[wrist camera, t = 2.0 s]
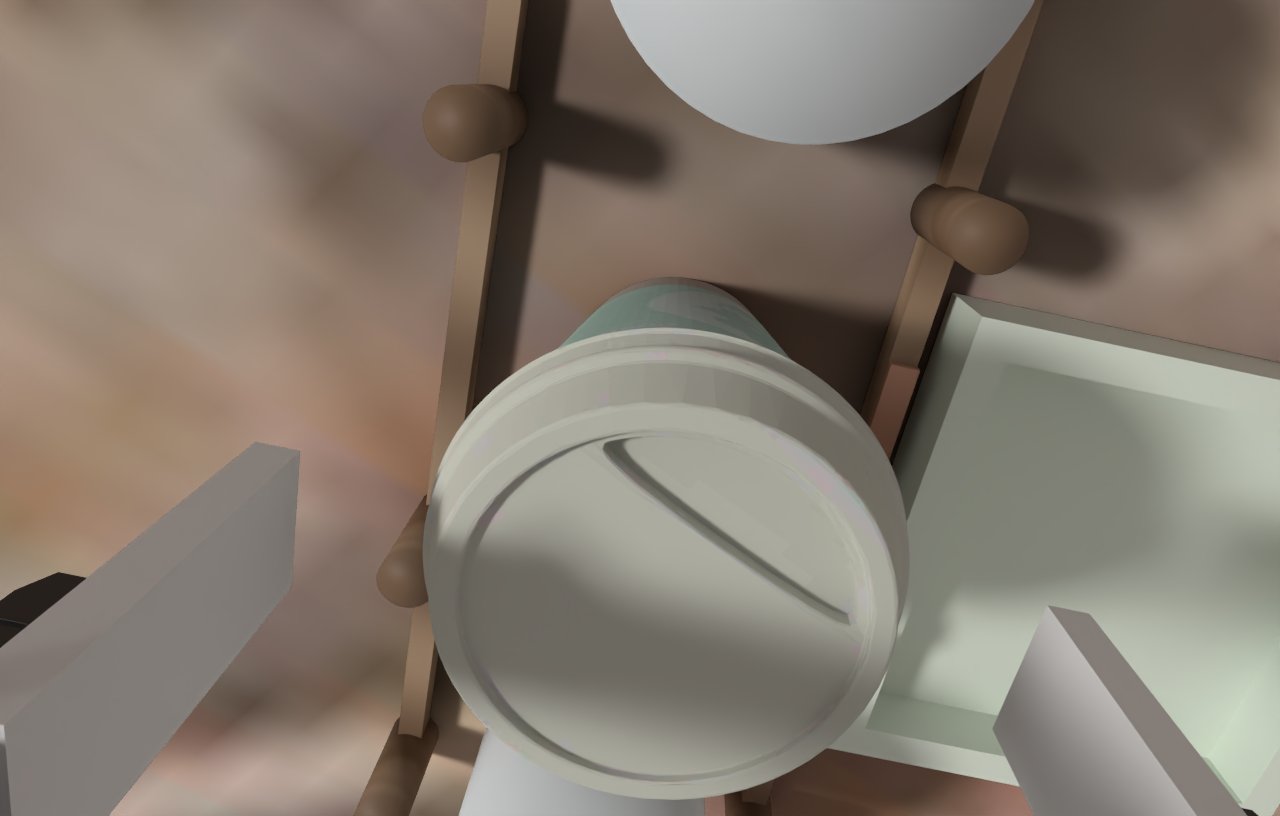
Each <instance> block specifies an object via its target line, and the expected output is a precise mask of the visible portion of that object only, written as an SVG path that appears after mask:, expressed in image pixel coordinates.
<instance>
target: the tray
mask: <svg viewBox="0 0 1280 816" xmlns="http://www.w3.org/2000/svg"><path fill="white" fill-rule="evenodd" d="M892 468H893V471H894V473H895V476H896V479H897V481H898V485H899V488H900V491H901V495H902V499H903V504H904V509H905V515H906V523H907V532H908V539H909V552H910V571H909V582H908V590H907V596H906V600H905V605H904V609H903V612H902V616H901V619H900V622H899V624H898V631H897V637H896V642H895V646H894V651H893V654H892V657H891V660H890V663H889V665H888V668H887V671H886V673H885V675H884V677H883V679H882V681H881V684H880V686H879V688H878V689H877V691H876V693H875V694H874V696H873V697H872V699H871V700H870V702H869V704H868V705H867V707H866V708H865V710H864V711H863V712H862V713H861V714H860V716H859V717H858V718H857V719H856V720H855V722H854V723H853V724H852V725H851V726H850V727H849V728H848V729H847V730H846V731H845V732H844V733H843V734H842V735H841V736H840V737H839V738H838V739H837V740H836V741H835V742H834V743H832V744H831V745H830V746H829V747H827V748H830V749H835V750H840V751H845V752H850V753H855V754H860V755H865V756H870V757H875V758H880V759H885V760H890V761H895V762H900V763H905V764H910V765H915V766H920V767H925V768H930V769H935V770H940V771H945V772H950V773H955V774H960V775H965V776H970V777H975V778H980V779H985V780H990V781H995V782H1000V783H1005V784H1010V785H1015V786H1019V784H1018V782H1017V779H1016V777H1015V775H1014V773H1013V771H1012V769H1011V767H1010V765H1009V763H1008V761H1007V759H1006V757H1005V755H1004V753H1003V751H1002V748H1001V746H1000V744H999V742H998V740H997V738H996V736H995V734H994V732H993V730H992V728H993V726H994V723H995V721H996V719H997V717H998V714H999V712H1000V710H1001V708H1002V705H1003V703H1004V701H1005V699H1006V696H1007V694H1008V692H1009V690H1010V687H1011V685H1012V683H1013V681H1014V678H1015V676H1016V674H1017V672H1018V669H1019V667H1020V665H1021V663H1022V660H1023V658H1024V656H1025V654H1026V651H1027V649H1028V647H1029V645H1030V642H1031V640H1032V638H1033V636H1034V633H1035V631H1036V629H1037V627H1038V624H1039V622H1040V620H1041V618H1042V615H1043V613H1044V611H1045V609H1046V606H1047V605H1050V606H1055V607H1060V608H1065V609H1069V610H1074V611H1079V612H1084V613H1089V614H1090V615H1091V616H1092V617H1093V619H1094V620H1095V621H1096V622H1097V624H1098V625H1099V626H1100V627H1101V629H1102V630H1103V631H1104V633H1105V634H1106V635H1107V636H1108V638H1109V639H1110V640H1111V642H1112V643H1113V644H1114V645H1115V647H1116V648H1117V649H1118V651H1119V652H1120V653H1121V654H1122V656H1123V657H1124V658H1125V660H1126V661H1127V662H1128V663H1129V665H1130V666H1131V667H1132V669H1133V670H1134V671H1135V672H1136V674H1137V675H1138V676H1139V678H1140V679H1141V680H1142V681H1143V683H1144V684H1145V685H1146V686H1147V688H1148V689H1149V690H1150V692H1151V693H1152V694H1153V695H1154V697H1155V698H1156V699H1157V701H1158V702H1159V703H1160V704H1161V706H1162V707H1163V708H1164V710H1165V711H1166V712H1167V713H1168V715H1169V716H1170V717H1171V719H1172V720H1173V721H1174V722H1175V724H1176V725H1177V726H1178V728H1179V729H1180V730H1181V731H1182V733H1183V734H1184V735H1185V736H1186V738H1187V739H1188V740H1189V742H1190V743H1191V744H1192V745H1193V747H1194V748H1195V749H1196V751H1197V752H1198V753H1199V754H1200V756H1201V757H1202V758H1203V760H1204V761H1205V762H1206V763H1207V765H1208V766H1209V767H1210V769H1211V770H1212V771H1213V772H1214V774H1215V775H1216V776H1217V778H1218V779H1219V780H1220V781H1221V783H1222V784H1223V785H1224V787H1225V788H1226V789H1227V790H1228V792H1229V793H1230V794H1231V795H1232V797H1233V798H1234V799H1235V801H1236V802H1237V803H1238V804H1239V806H1240V807H1241V808H1245V809H1249V810H1253V811H1254V812H1255V813H1256V814H1257V815H1258V816H1272V815H1273V813H1274V812H1275V810H1276V808H1277V807H1278V805H1279V804H1280V363H1278V362H1274V361H1269V360H1264V359H1260V358H1255V357H1250V356H1246V355H1241V354H1236V353H1232V352H1227V351H1222V350H1218V349H1213V348H1208V347H1204V346H1199V345H1194V344H1190V343H1185V342H1180V341H1176V340H1171V339H1166V338H1162V337H1157V336H1152V335H1148V334H1143V333H1138V332H1134V331H1129V330H1124V329H1120V328H1115V327H1110V326H1106V325H1101V324H1096V323H1092V322H1087V321H1082V320H1078V319H1073V318H1068V317H1064V316H1059V315H1054V314H1050V313H1045V312H1040V311H1036V310H1031V309H1026V308H1022V307H1017V306H1012V305H1008V304H1003V303H998V302H994V301H989V300H984V299H980V298H975V297H970V296H966V295H961V294H956V293H952V295H951V298H950V301H949V304H948V307H947V310H946V313H945V315H944V318H943V321H942V324H941V327H940V330H939V333H938V335H937V338H936V341H935V344H934V347H933V350H932V353H931V355H930V358H929V361H928V364H927V367H926V370H925V373H924V376H923V378H922V381H921V384H920V387H919V390H918V393H917V396H916V398H915V401H914V404H913V407H912V410H911V413H910V416H909V418H908V421H907V424H906V427H905V430H904V433H903V436H902V438H901V441H900V444H899V447H898V450H897V453H896V456H895V458H894V461H893V464H892Z"/></svg>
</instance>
